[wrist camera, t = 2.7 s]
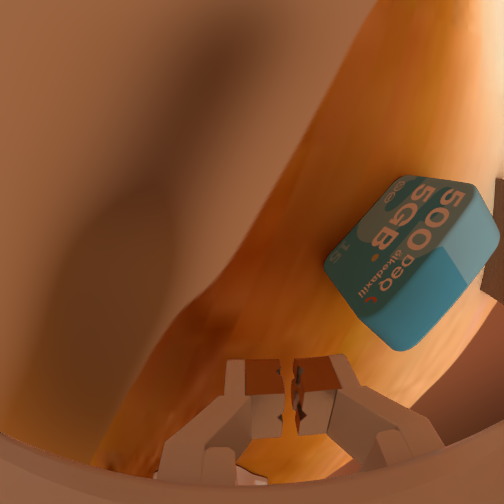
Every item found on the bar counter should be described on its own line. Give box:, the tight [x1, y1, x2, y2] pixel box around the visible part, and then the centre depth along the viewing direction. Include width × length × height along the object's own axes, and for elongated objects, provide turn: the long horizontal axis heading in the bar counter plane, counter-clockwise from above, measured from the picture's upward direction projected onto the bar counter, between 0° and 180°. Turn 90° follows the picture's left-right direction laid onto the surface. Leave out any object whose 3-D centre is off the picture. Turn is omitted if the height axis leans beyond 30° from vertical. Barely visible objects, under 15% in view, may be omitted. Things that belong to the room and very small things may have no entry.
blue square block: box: [324, 175, 500, 351], centre depth 21 cm, size 12×4×12 cm, turn 139°
